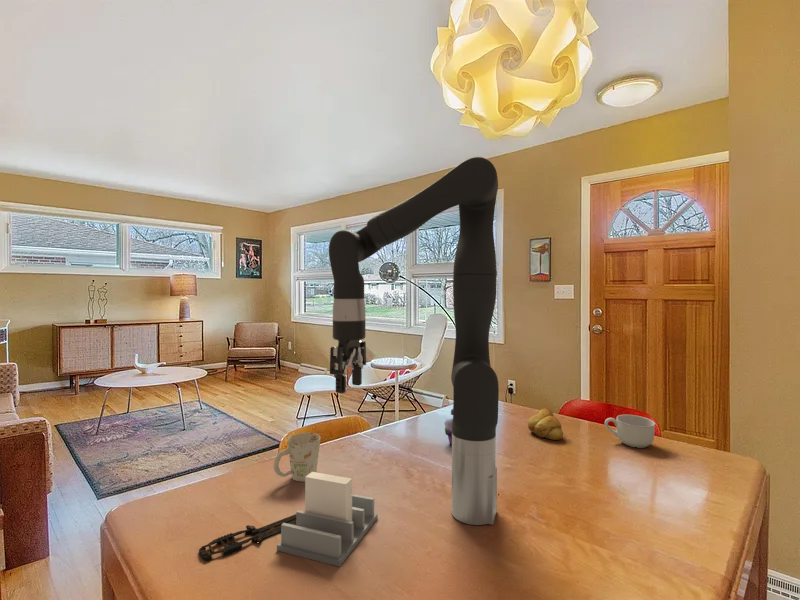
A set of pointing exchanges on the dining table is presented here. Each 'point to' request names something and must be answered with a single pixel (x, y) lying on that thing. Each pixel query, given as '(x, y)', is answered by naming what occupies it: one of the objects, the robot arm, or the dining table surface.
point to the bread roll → (546, 425)
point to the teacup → (633, 430)
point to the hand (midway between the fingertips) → (349, 388)
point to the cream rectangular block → (328, 495)
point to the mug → (300, 455)
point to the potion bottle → (449, 428)
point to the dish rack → (328, 533)
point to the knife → (236, 546)
